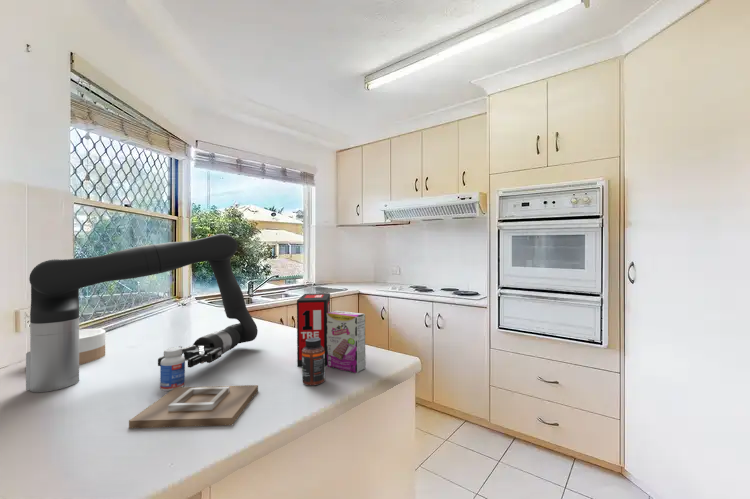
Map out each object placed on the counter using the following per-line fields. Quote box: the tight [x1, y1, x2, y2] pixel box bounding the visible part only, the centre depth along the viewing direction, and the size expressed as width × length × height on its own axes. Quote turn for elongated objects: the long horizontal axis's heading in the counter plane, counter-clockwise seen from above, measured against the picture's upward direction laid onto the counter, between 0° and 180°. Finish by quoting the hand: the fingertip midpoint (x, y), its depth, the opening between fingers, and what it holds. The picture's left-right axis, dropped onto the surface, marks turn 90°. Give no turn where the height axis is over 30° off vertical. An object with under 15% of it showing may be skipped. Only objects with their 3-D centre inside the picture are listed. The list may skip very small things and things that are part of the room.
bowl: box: [79, 328, 106, 366], centre depth 107 cm, size 17×17×8 cm
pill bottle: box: [159, 346, 186, 392], centre depth 84 cm, size 6×5×10 cm
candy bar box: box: [326, 309, 366, 374], centre depth 96 cm, size 11×5×16 cm, turn 59°
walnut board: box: [128, 384, 259, 429], centre depth 72 cm, size 20×16×3 cm
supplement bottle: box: [301, 338, 326, 386], centre depth 86 cm, size 6×6×11 cm
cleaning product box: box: [296, 292, 331, 368], centre depth 107 cm, size 16×9×20 cm, turn 4°
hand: (173, 363), depth 84 cm, fingers open, 8 cm apart
